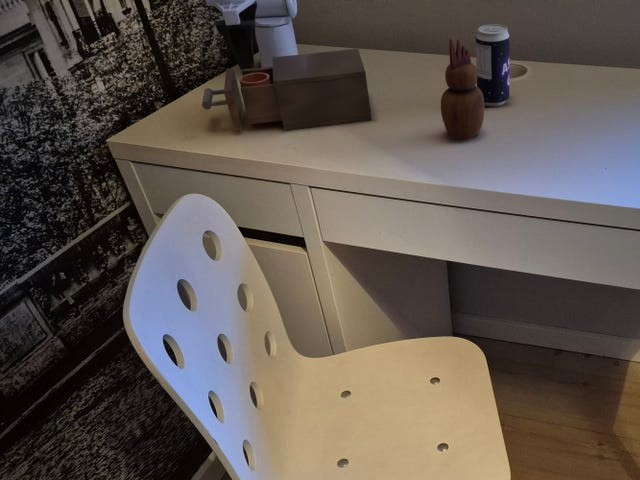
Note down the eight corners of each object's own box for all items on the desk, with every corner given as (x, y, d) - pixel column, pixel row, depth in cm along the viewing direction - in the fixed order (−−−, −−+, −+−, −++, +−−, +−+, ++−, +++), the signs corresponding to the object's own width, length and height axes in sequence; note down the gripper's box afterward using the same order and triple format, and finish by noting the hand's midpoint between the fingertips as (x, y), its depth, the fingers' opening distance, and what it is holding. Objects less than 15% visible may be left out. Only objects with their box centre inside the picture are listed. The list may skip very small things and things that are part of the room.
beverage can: (506, 108, 115) (506, 34, 107) (474, 107, 116) (472, 33, 108) (511, 96, 119) (512, 24, 111) (480, 94, 120) (479, 22, 112)
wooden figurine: (450, 146, 105) (445, 45, 95) (437, 132, 109) (431, 34, 99) (490, 137, 107) (488, 38, 97) (475, 124, 111) (473, 27, 101)
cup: (278, 101, 115) (271, 71, 111) (274, 112, 111) (266, 82, 108) (250, 103, 115) (242, 73, 111) (245, 114, 111) (237, 83, 108)
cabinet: (284, 130, 111) (273, 81, 105) (282, 104, 119) (272, 57, 114) (372, 120, 113) (365, 71, 107) (364, 95, 121) (358, 48, 116)
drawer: (207, 132, 109) (195, 94, 104) (211, 108, 116) (200, 71, 112) (317, 120, 111) (310, 81, 107) (314, 97, 119) (307, 60, 115)
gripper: (202, -45, 103) (226, 48, 112) (191, -22, 93) (219, 78, 102) (248, -48, 104) (269, 44, 113) (243, -26, 94) (266, 74, 103)
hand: (248, 60), depth 108 cm, fingers open, 7 cm apart
